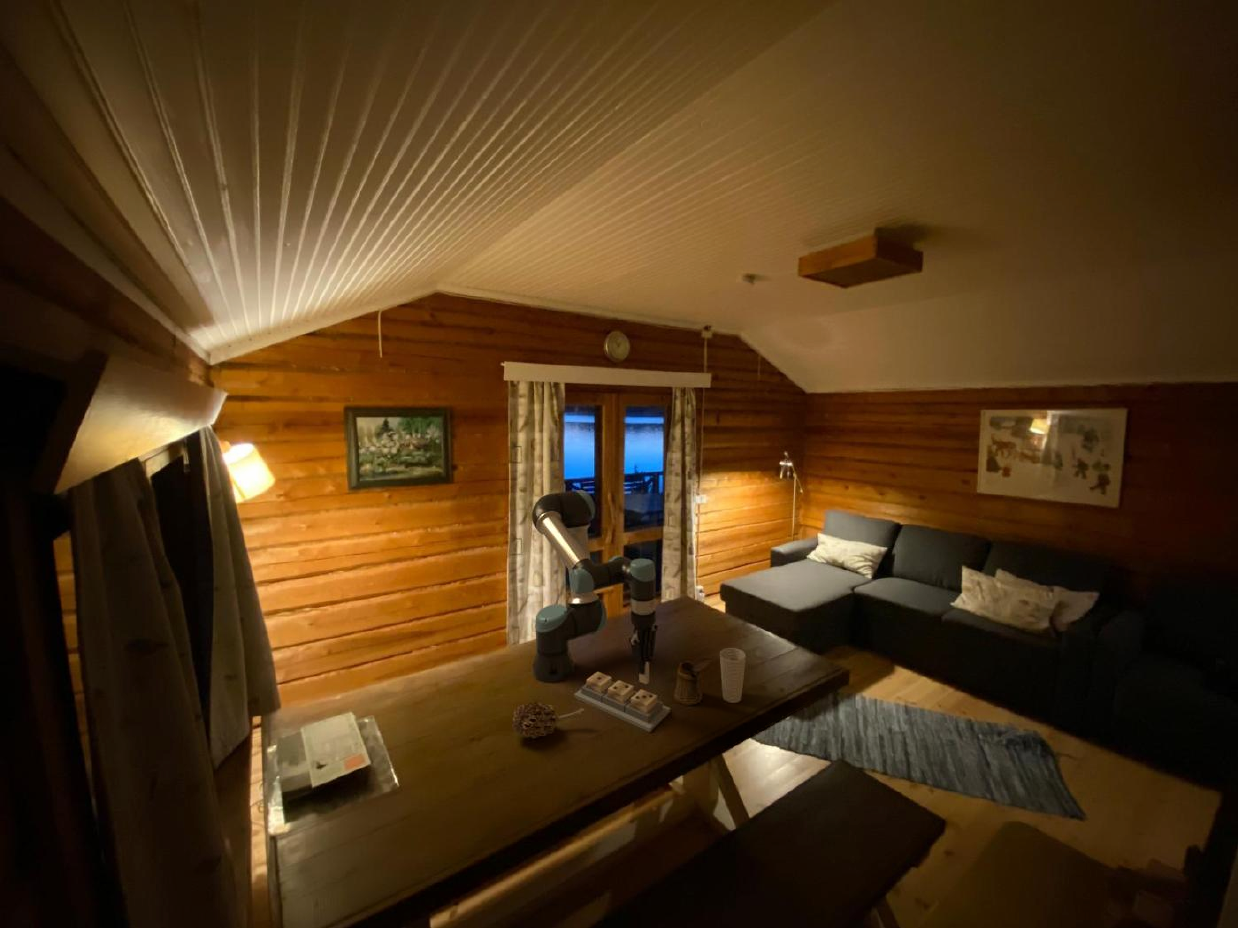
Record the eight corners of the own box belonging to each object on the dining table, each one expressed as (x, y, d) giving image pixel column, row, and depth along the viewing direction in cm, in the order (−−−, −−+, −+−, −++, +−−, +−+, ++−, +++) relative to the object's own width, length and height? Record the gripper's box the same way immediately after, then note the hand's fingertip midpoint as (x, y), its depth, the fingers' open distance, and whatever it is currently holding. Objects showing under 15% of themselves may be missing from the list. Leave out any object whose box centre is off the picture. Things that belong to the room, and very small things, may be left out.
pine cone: (515, 751, 146) (513, 719, 144) (510, 730, 155) (509, 700, 153) (589, 733, 153) (588, 702, 151) (581, 714, 162) (580, 685, 160)
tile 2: (608, 697, 165) (607, 688, 165) (618, 688, 170) (618, 679, 170) (623, 703, 162) (622, 694, 161) (633, 694, 167) (633, 685, 166)
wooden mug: (694, 716, 160) (694, 663, 157) (668, 694, 171) (668, 644, 169) (716, 707, 164) (717, 655, 162) (690, 686, 176) (690, 637, 173)
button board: (574, 697, 171) (573, 688, 170) (596, 680, 180) (596, 671, 180) (649, 732, 153) (649, 721, 152) (670, 711, 162) (670, 701, 162)
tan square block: (586, 687, 171) (586, 679, 170) (597, 679, 175) (597, 670, 175) (600, 694, 167) (600, 685, 167) (611, 685, 172) (611, 676, 171)
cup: (713, 697, 169) (714, 654, 167) (728, 687, 175) (729, 644, 173) (735, 708, 163) (736, 663, 161) (750, 697, 169) (751, 653, 167)
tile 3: (630, 707, 160) (630, 697, 160) (641, 697, 165) (641, 688, 164) (646, 714, 157) (646, 704, 156) (657, 704, 161) (657, 694, 161)
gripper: (641, 621, 149) (642, 695, 152) (664, 605, 159) (665, 675, 162) (620, 614, 153) (622, 687, 156) (644, 600, 163) (645, 668, 167)
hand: (644, 681), depth 159 cm, fingers closed
